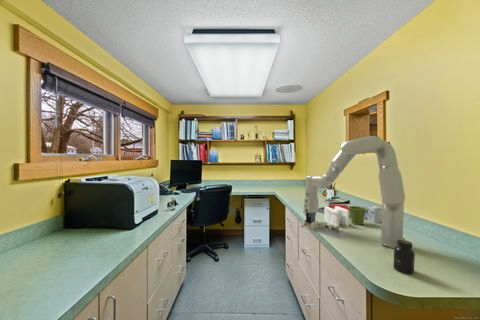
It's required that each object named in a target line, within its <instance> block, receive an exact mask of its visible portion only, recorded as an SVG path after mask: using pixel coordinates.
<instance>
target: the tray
mask: <svg viewBox="0 0 480 320" xmlns="http://www.w3.org/2000/svg"><path fill="white" fill-rule="evenodd" d="M325 207H329V205H327V206H322V207H319V210H318V211H317V213H321V214H324V208H325ZM349 219H351V216H349Z"/></svg>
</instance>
